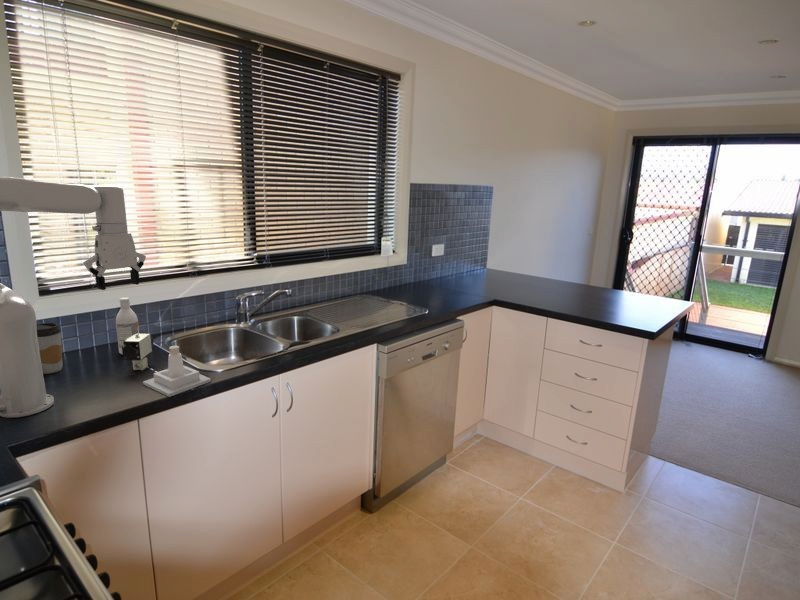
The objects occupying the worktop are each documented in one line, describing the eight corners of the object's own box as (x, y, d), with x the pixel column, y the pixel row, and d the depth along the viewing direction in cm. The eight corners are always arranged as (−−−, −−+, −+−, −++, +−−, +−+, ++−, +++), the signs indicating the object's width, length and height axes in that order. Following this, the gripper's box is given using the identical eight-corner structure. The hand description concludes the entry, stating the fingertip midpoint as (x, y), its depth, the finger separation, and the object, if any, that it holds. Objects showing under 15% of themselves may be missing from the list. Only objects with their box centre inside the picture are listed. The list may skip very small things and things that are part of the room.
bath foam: (142, 353, 175) (136, 299, 170) (120, 356, 171) (114, 301, 166) (139, 347, 181) (134, 295, 176) (118, 350, 177) (112, 297, 172)
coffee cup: (58, 363, 164) (51, 320, 160) (71, 368, 160) (65, 325, 156) (30, 371, 157) (22, 326, 153) (43, 377, 153) (36, 331, 149)
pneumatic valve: (155, 361, 168) (152, 328, 165) (139, 375, 157) (135, 340, 154) (139, 361, 168) (136, 328, 165) (121, 375, 156) (117, 339, 153)
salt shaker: (189, 380, 152) (186, 347, 149) (170, 385, 148) (167, 351, 146) (182, 375, 156) (180, 342, 153) (164, 379, 152) (161, 346, 149)
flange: (169, 396, 143) (168, 385, 142) (142, 384, 151) (141, 373, 150) (210, 381, 154) (210, 371, 153) (184, 370, 162) (183, 360, 161)
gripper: (86, 232, 132) (94, 293, 136) (148, 227, 146) (154, 283, 150) (73, 229, 136) (81, 289, 140) (135, 225, 150) (140, 280, 154)
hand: (119, 286), depth 145 cm, fingers open, 9 cm apart
